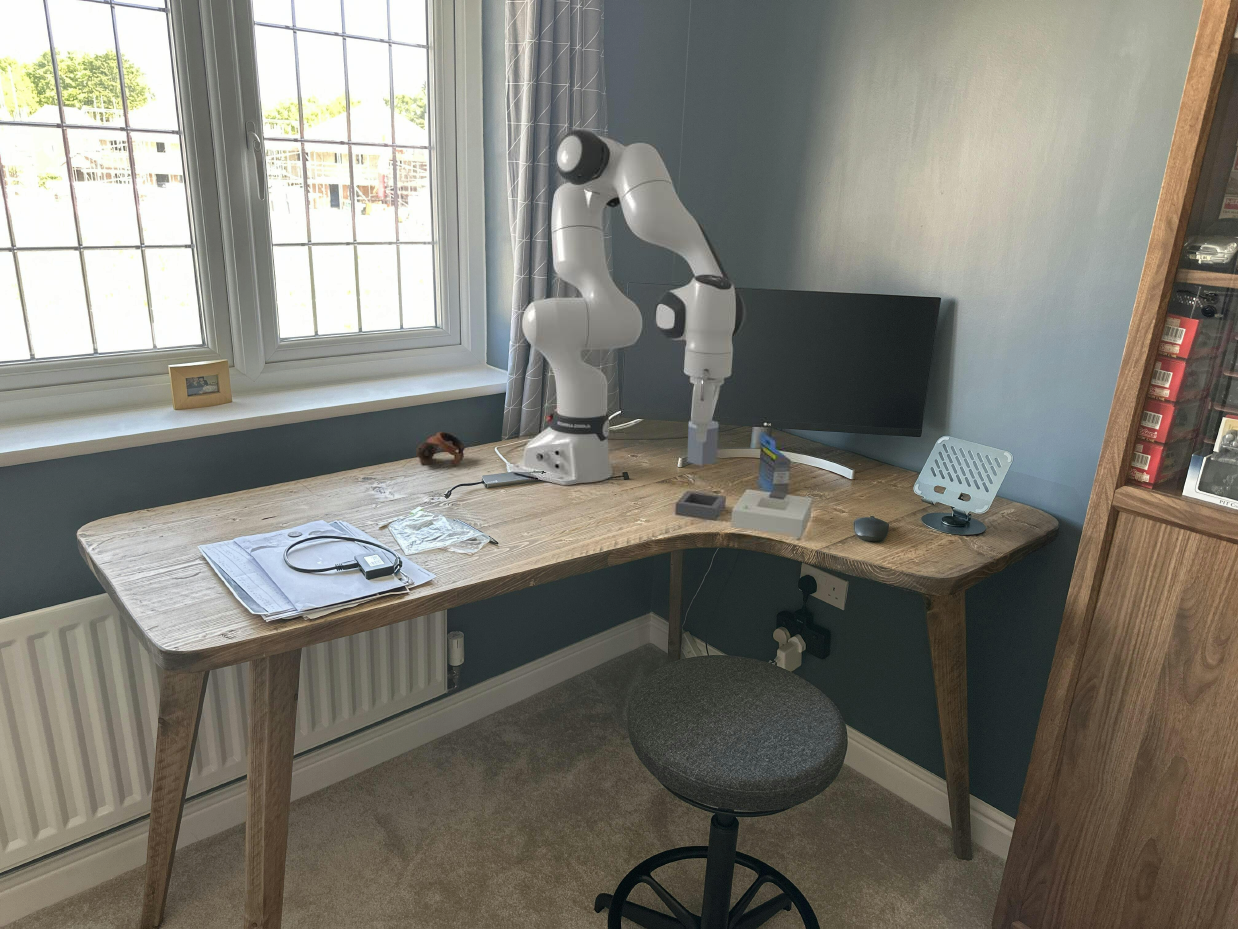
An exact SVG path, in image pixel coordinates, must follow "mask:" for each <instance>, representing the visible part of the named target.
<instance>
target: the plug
mask: <svg viewBox="0 0 1238 929" xmlns="http://www.w3.org/2000/svg"><path fill="white" fill-rule="evenodd" d="M687 438H688V439H687V454H686V456H687V460H686V462H687V463H691V464H693V465H697V466H701V467H703V466H704V467H705V466H709V465H712V464H717V463H718V462H717V460H718V441H719V440H718V439H719V421H714V420H711V424H710V425H709V426H708V429H707V439H706V442H698V441H697V427H696V425H694V424H692V423H691V420H689V421H688V433H687Z"/></svg>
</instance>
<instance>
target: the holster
mask: <svg viewBox="0 0 1238 929" xmlns="http://www.w3.org/2000/svg"><path fill="white" fill-rule="evenodd" d="M726 500H727V496H726V495H719V494H712V493H706V492H700V491H699V492H698V491H692V490H687V491H685V493H684V494H682V496H681V497H679V499H678V500H677V501H676V502H675V511H674V512H675V514H674V515H675V516H681V517H682V516H683V517H687V518H688V517H689V518H695V519H702V520H707V521H708V520H709V521H714V522H715V521H717V519H718V518H719V517H720V515H721V514H722V512H723V511H724V510H725V508H726V504H727V503H726Z"/></svg>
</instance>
